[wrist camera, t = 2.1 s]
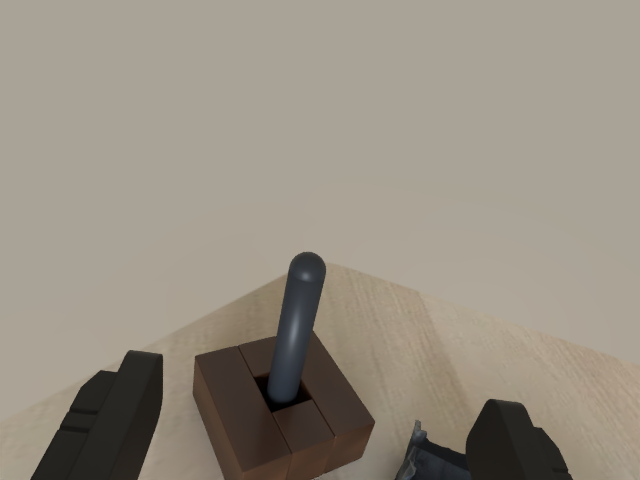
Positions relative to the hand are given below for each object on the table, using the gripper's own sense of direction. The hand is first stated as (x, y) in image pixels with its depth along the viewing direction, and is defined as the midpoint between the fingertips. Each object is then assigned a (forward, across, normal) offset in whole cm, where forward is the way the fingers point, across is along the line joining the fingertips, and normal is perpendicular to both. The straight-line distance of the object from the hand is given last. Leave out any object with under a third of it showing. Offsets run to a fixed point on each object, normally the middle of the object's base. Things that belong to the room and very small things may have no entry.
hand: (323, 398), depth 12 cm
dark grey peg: (+11, 0, +16) cm, 20 cm away
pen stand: (+11, 0, +16) cm, 20 cm away
